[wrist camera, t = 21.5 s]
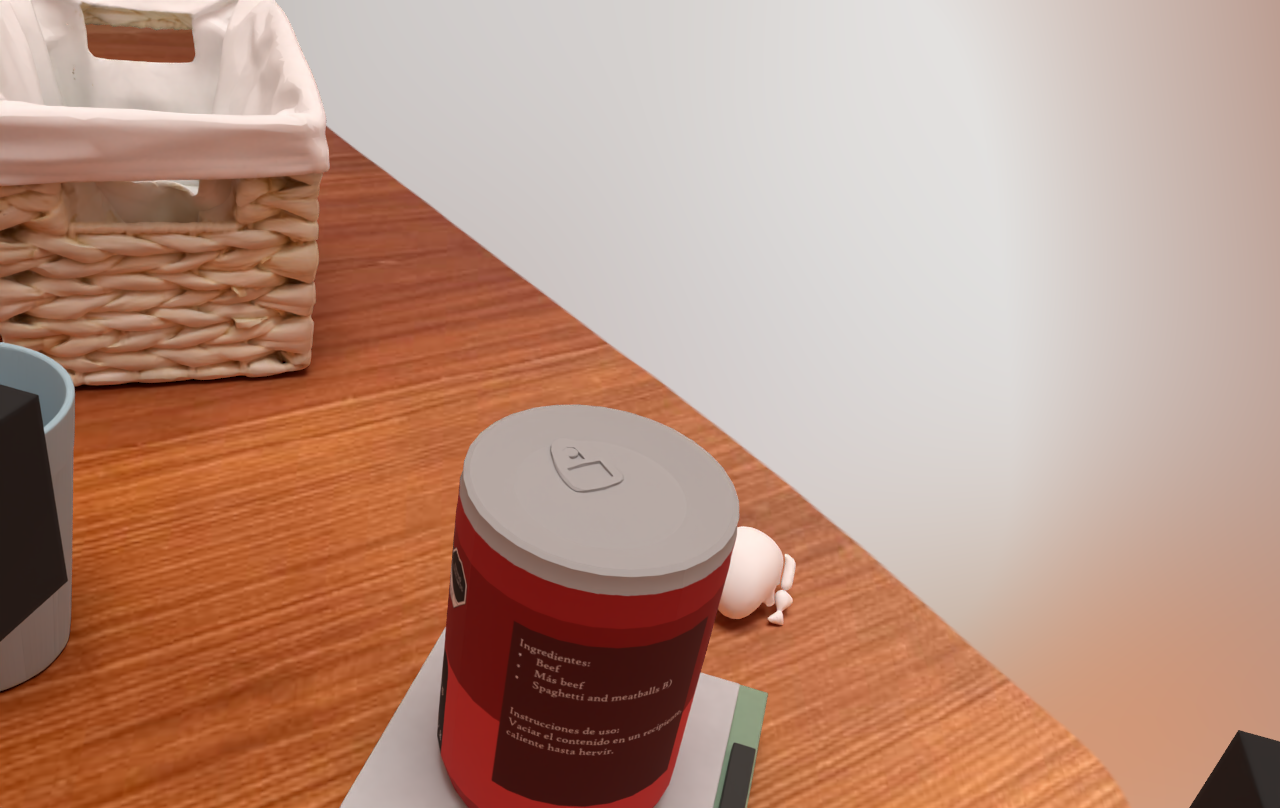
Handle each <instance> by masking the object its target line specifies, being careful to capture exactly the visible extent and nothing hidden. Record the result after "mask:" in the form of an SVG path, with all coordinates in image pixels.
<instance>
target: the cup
mask: <svg viewBox="0 0 1280 808" xmlns="http://www.w3.org/2000/svg"><path fill="white" fill-rule="evenodd" d="M0 384H1V385H4V386H8V387H12V388H15V389H19V390H22V391H26V392H30V393H33V394H37V395H39V401H40V407H41V414H42V420H43V426H44V433H45V439H46V445H47V452H48V458H49V464H50V471H51V477H52V483H53V489H54V496H55V502H56V508H57V515H58V521H59V527H60V534H61V540H62V546H63V553H64V559H65V565H66V572H67V578H68V581H67V582H66V583H65V584H64V585H63V586H62V587H61V588H60V589H58V590H57V591H56V592H55V593H54V594H53V595H52V596H51V597H50V598H48V599H47V600H46V601H45V602H44V603H43V604H42V605H41V606H40V607H38V608H37V609H36V610H35V611H34V612H33V613H32V614H31V615H30V616H28V617H27V618H26V619H25V620H24V621H23V622H22V623H21V624H20V625H18V626H17V627H16V628H15V629H14V630H13V631H12V632H11V633H10V634H8V635H7V636H6V637H5V638H4V639H3V640H2V641H1V642H0V691H2V690H5V689H8V688H11V687H13V686H16V685H18V684H20V683H22V682H24V681H26V680H28V679H30V678H32V677H33V676H35V675H37V674H38V673H40V672H41V671H43V670H44V669H45V668H46V667H48V666H49V665H50V664H51V663H52V662H53V661H54V660H55V659H56V657H57V656H58V655H59V654H60V653H61V651H62V650H63V649H64V647H65V645H66V643H67V641H68V639H69V634H70V625H71V596H72V520H73V447H74V427H75V389H74V384H73V381H72V379H71V377H70V375H69V374H68V372H67V371H66V370H65V369H64V368H63V367H62V366H61V365H60V364H59V363H57V362H56V361H55V360H53V359H51V358H50V357H48V356H46V355H44V354H42V353H39V352H37V351H34V350H32V349H29V348H25V347H22V346H18V345H13V344H9V343H3V342H0Z"/></svg>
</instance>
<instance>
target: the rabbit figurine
mask: <svg viewBox="0 0 1280 808" xmlns="http://www.w3.org/2000/svg"><path fill="white" fill-rule="evenodd" d="M782 567H783V555H782V552H781V550H780V549H779V547H778V546H777V544H776V543H775V542H774V541H773V540H772V539H771V538H770V537H769V536H767V535H766V534H764V533H763V532H761V531H759V530H757V529H754V528H752V527H745V526H742V527H737V537H736V541H735V545H734V548H733V552H732V556H731V561H730V566H729V570H728V574H727V577H726V581H725V585H724V588H723V592H722V596H721V599H720V603H719V607H718V610H719V611H720V612H721V613H722V614H723V615H724V616H726V617H729V618H731V619H741V618H743V617H746V616H748V615H749V614H751V613H752V612H753V611H754V610H756V609H757V608H758V607H759V606H760V605H761V603H762V602H763V603H764V604H766V606H772V605H773V604H774V593H775V588H776V586H777V585H779V584H780V577H781V572H782ZM794 573H795V561H794V559H793V558H791V557H790V556H789V555H788V554H785V567H784V572H783V576H782V581H781V587H782V589H784V590H779V591H777V593H776V594H775V604H776V608H777V611H776V612H775V613H774V614H772V615H771V616H769V617H768V618H767V619H768V620H769V621H770V622H772V623H775V624H779V625H783V614H782V611H783V610H784V609H786V608H788V607H789V606H790V605H791V604H792V603H793V600H792V597H791V596H790V595H789V594H788V593H787V592H786V591H785V590H788V589H790V588H791V587H792V584H793V579H794Z"/></svg>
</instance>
